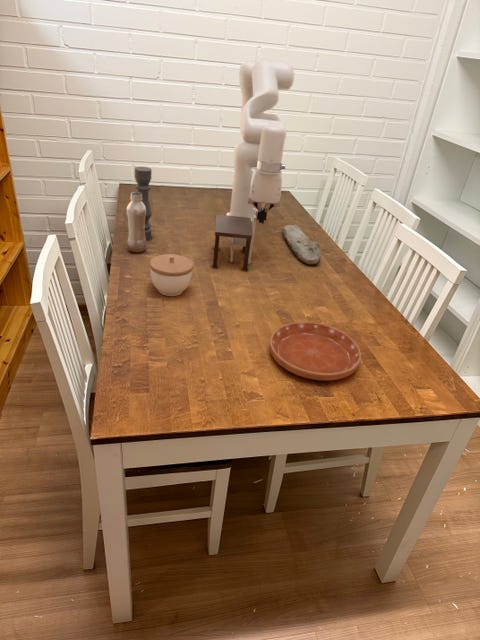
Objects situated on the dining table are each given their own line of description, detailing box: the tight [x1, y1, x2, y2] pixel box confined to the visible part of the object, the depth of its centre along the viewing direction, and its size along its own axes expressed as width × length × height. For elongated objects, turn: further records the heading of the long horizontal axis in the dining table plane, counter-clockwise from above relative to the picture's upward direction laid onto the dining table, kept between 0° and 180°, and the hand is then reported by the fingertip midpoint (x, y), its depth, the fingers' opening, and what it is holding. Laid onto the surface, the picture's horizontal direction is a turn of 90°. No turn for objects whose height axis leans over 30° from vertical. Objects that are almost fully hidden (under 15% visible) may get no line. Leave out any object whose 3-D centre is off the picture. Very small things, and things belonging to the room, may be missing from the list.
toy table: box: [212, 213, 252, 272], centre depth 164 cm, size 12×17×13 cm
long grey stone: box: [282, 224, 322, 265], centre depth 182 cm, size 35×5×10 cm
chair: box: [229, 212, 257, 265], centre depth 163 cm, size 7×6×17 cm
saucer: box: [269, 321, 362, 381], centre depth 120 cm, size 23×23×4 cm
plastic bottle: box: [126, 191, 147, 253], centre depth 159 cm, size 6×7×20 cm
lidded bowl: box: [149, 253, 194, 297], centre depth 140 cm, size 13×13×11 cm
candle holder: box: [134, 166, 152, 242], centre depth 168 cm, size 6×6×25 cm
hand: (261, 221), depth 160 cm, fingers closed
